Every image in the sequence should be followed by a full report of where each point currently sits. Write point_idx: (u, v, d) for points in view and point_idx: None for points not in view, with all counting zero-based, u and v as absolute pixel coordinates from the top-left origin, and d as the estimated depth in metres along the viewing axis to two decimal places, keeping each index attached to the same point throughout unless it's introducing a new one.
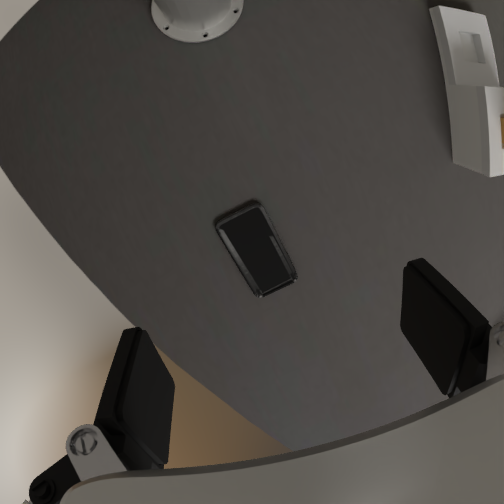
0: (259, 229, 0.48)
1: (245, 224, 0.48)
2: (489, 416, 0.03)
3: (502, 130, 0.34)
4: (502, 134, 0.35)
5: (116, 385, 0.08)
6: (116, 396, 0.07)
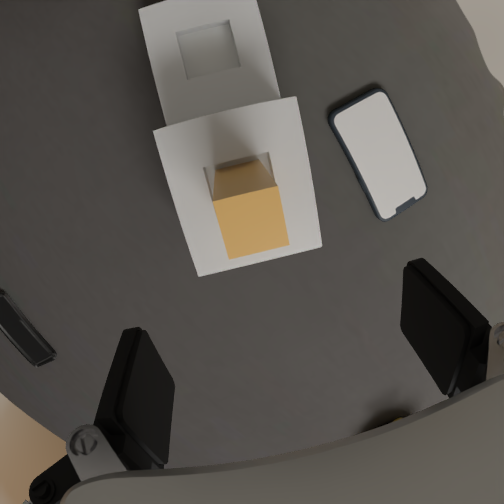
0: (10, 314, 0.41)
1: (0, 309, 0.40)
2: (489, 416, 0.03)
3: None
4: None
5: (116, 385, 0.08)
6: (116, 396, 0.07)
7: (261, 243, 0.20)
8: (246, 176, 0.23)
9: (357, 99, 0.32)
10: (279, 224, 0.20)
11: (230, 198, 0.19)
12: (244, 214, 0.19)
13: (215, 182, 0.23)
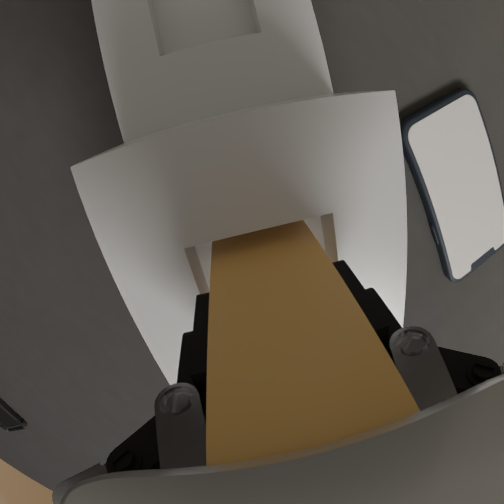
0: None
1: None
2: (489, 416, 0.03)
3: None
4: None
5: (204, 342, 0.09)
6: None
7: None
8: (294, 303, 0.09)
9: (440, 103, 0.18)
10: None
11: None
12: None
13: (212, 311, 0.09)
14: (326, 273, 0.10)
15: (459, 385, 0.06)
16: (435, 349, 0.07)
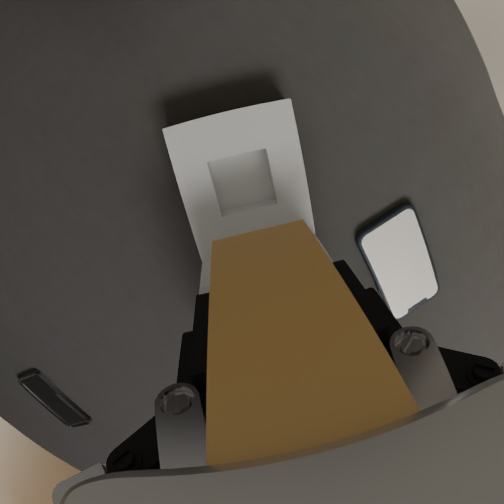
0: (46, 388, 0.44)
1: (35, 383, 0.43)
2: (489, 416, 0.03)
3: None
4: None
5: (204, 342, 0.09)
6: None
7: None
8: (294, 303, 0.09)
9: (386, 218, 0.35)
10: None
11: None
12: None
13: (212, 311, 0.09)
14: (326, 273, 0.10)
15: (459, 385, 0.06)
16: (435, 349, 0.07)
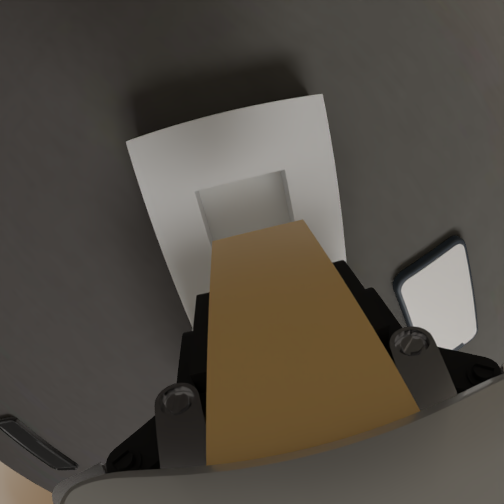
0: (25, 434, 0.34)
1: (13, 429, 0.33)
2: (489, 416, 0.03)
3: None
4: None
5: (204, 342, 0.09)
6: None
7: None
8: (294, 303, 0.09)
9: (432, 257, 0.26)
10: None
11: None
12: None
13: (212, 311, 0.09)
14: (326, 273, 0.09)
15: (459, 385, 0.06)
16: (435, 349, 0.07)
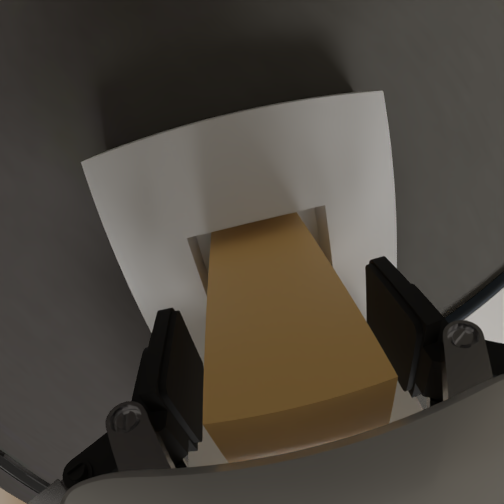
0: (15, 468, 0.28)
1: (2, 462, 0.27)
2: (489, 416, 0.03)
3: None
4: None
5: (157, 361, 0.08)
6: (158, 372, 0.08)
7: None
8: (285, 285, 0.09)
9: (482, 300, 0.19)
10: None
11: (258, 418, 0.06)
12: (293, 439, 0.06)
13: (210, 292, 0.10)
14: (316, 259, 0.10)
15: None
16: (483, 346, 0.06)
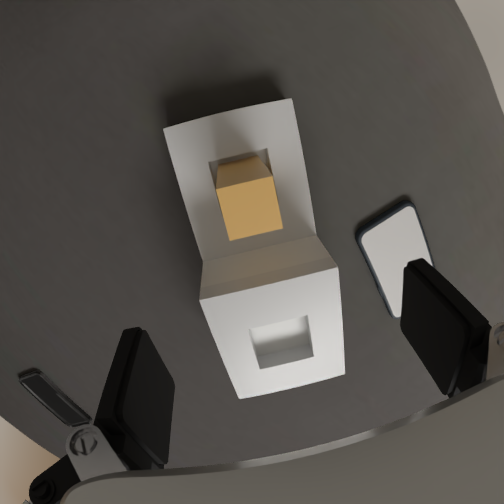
0: (46, 388, 0.44)
1: (36, 383, 0.43)
2: (489, 416, 0.03)
3: None
4: None
5: (116, 385, 0.08)
6: (116, 396, 0.07)
7: (258, 226, 0.23)
8: (245, 169, 0.26)
9: (386, 216, 0.35)
10: (274, 210, 0.23)
11: (231, 187, 0.22)
12: (243, 201, 0.22)
13: (218, 174, 0.26)
14: (259, 163, 0.26)
15: None
16: None
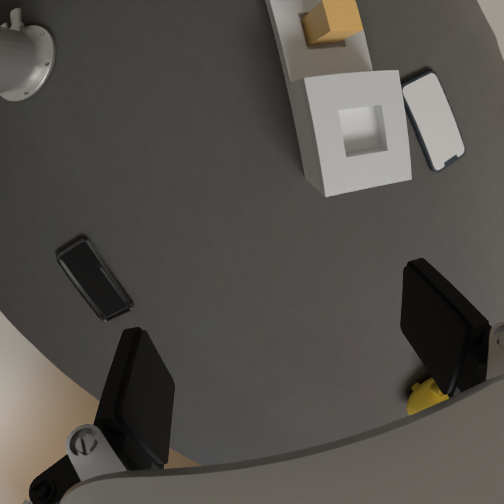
0: (89, 261, 0.47)
1: (78, 256, 0.47)
2: (489, 416, 0.03)
3: (306, 30, 0.34)
4: (307, 34, 0.34)
5: (116, 385, 0.08)
6: (116, 397, 0.07)
7: (348, 25, 0.27)
8: None
9: (417, 77, 0.38)
10: (357, 18, 0.26)
11: (331, 0, 0.25)
12: (338, 9, 0.26)
13: (311, 11, 0.30)
14: None
15: None
16: None
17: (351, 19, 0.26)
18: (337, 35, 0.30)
